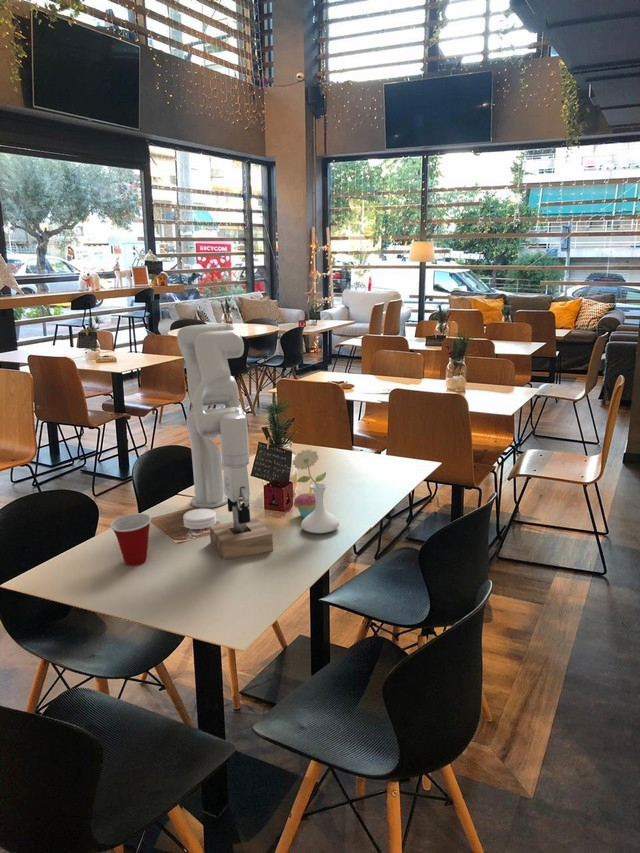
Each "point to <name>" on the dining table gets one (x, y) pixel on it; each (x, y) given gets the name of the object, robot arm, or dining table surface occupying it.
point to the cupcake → (305, 503)
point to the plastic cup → (132, 536)
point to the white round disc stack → (199, 519)
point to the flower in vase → (319, 517)
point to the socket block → (241, 539)
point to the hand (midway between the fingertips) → (239, 516)
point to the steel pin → (237, 527)
